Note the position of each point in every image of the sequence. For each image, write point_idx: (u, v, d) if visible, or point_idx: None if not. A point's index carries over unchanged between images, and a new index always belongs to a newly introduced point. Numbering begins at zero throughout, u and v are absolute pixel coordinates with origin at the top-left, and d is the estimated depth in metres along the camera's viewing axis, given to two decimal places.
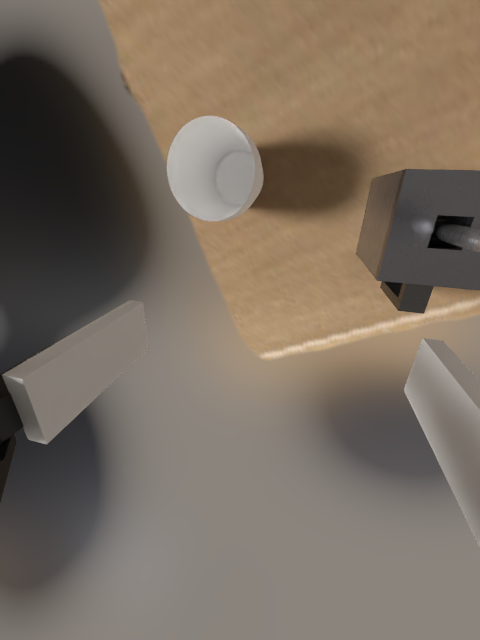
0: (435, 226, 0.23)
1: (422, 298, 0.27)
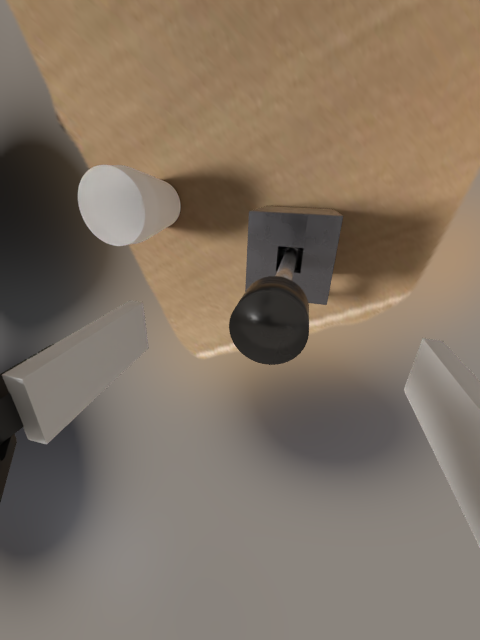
0: (284, 253, 0.29)
1: None
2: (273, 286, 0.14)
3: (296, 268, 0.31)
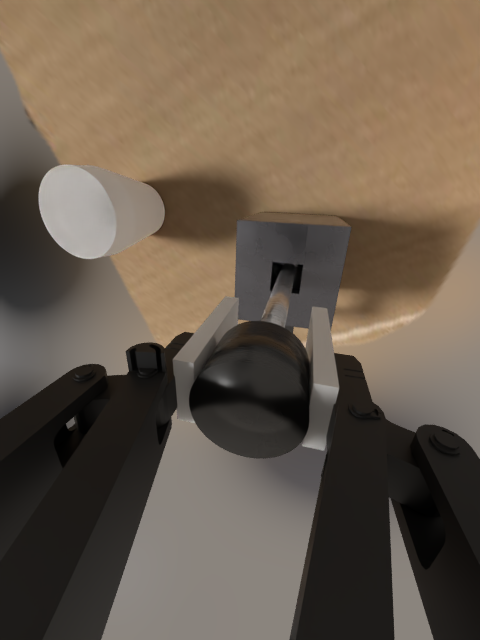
0: (280, 269, 0.25)
1: None
2: (255, 344, 0.09)
3: (294, 286, 0.27)
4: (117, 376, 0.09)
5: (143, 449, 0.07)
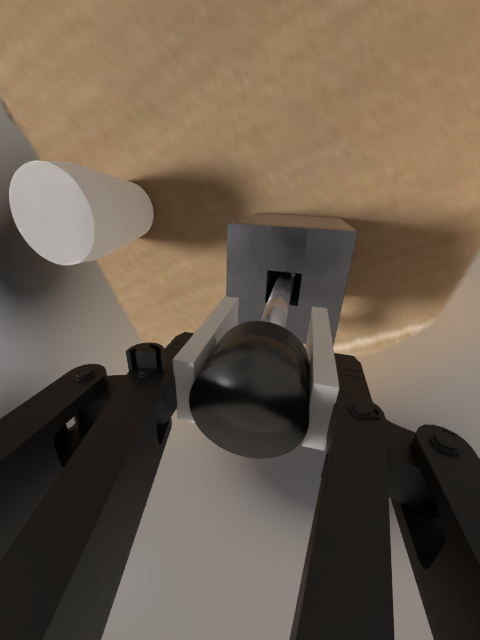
0: None
1: None
2: (255, 344, 0.09)
3: (294, 286, 0.27)
4: (117, 376, 0.09)
5: (143, 449, 0.07)
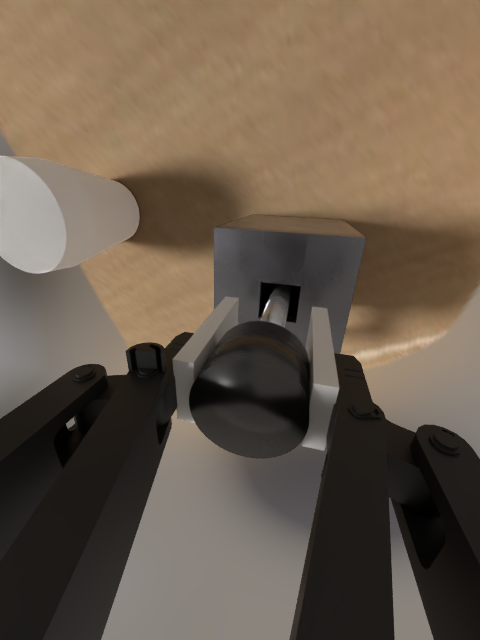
0: None
1: None
2: (255, 345, 0.09)
3: (294, 286, 0.27)
4: (117, 376, 0.09)
5: (143, 449, 0.07)
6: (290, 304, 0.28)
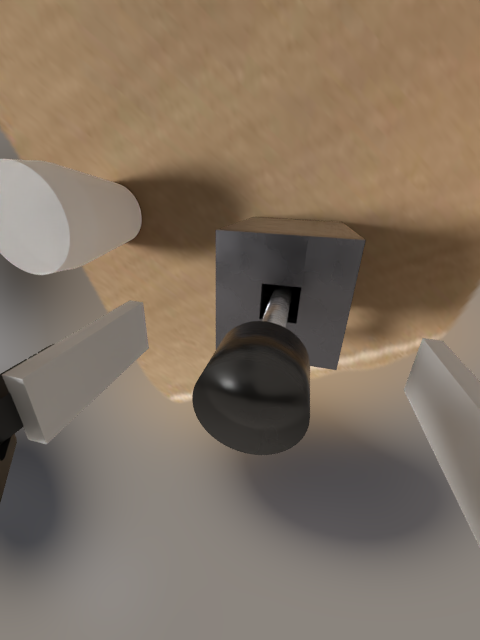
0: None
1: None
2: (257, 344, 0.09)
3: (295, 287, 0.27)
4: None
5: None
6: (290, 305, 0.29)
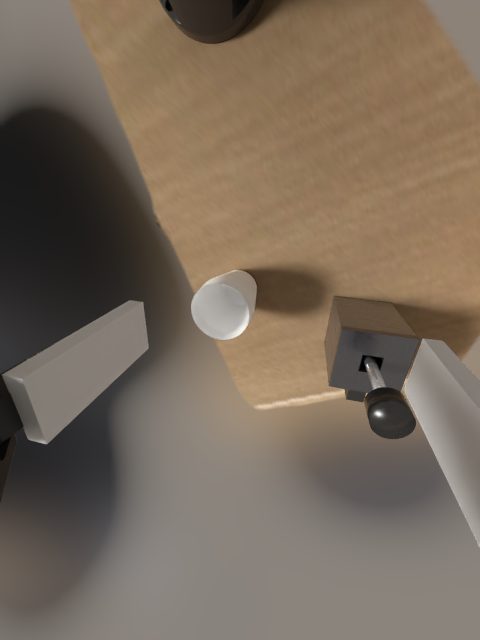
0: None
1: (361, 393, 0.40)
2: (394, 399, 0.26)
3: None
4: None
5: None
6: None
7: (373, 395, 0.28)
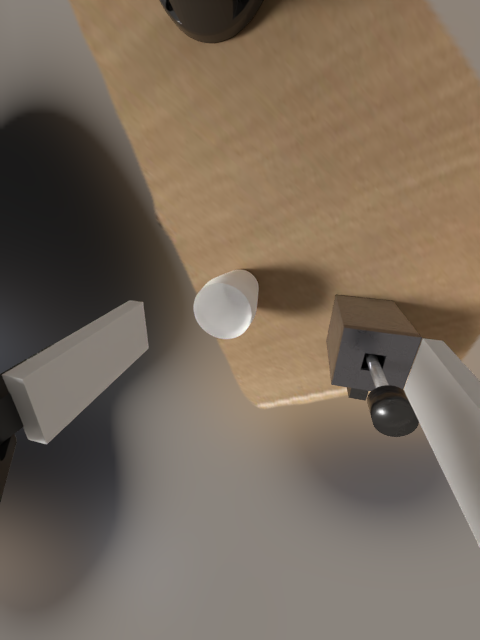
0: None
1: (363, 391, 0.40)
2: (397, 397, 0.26)
3: None
4: None
5: None
6: None
7: (376, 393, 0.28)
